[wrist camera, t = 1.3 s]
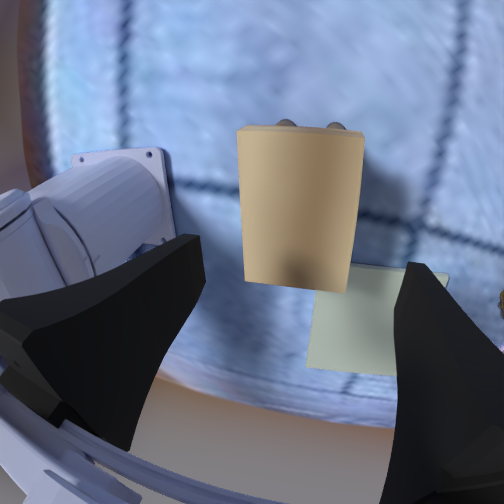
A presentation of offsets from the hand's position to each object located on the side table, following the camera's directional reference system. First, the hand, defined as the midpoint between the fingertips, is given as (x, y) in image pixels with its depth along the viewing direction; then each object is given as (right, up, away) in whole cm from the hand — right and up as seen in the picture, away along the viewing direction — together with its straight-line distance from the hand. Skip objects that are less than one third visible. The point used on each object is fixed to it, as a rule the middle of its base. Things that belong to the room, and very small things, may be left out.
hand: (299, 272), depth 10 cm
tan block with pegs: (+2, +5, +9) cm, 10 cm away
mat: (+8, -5, +14) cm, 17 cm away
